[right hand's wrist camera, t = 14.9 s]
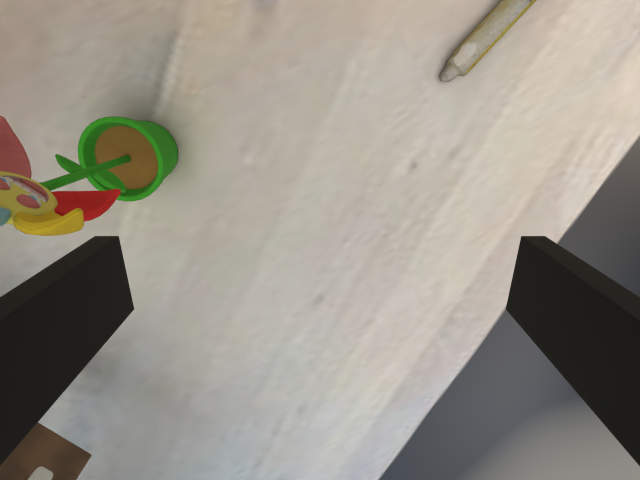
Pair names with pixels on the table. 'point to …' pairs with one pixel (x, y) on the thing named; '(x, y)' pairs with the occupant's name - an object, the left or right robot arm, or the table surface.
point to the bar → (44, 456)
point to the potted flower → (84, 175)
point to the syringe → (484, 37)
